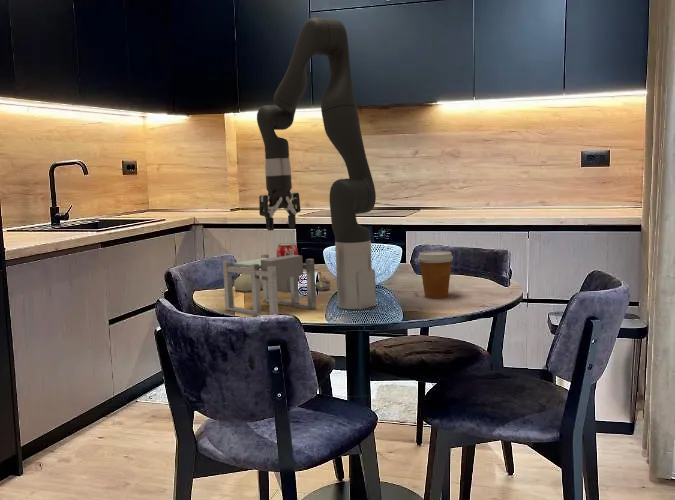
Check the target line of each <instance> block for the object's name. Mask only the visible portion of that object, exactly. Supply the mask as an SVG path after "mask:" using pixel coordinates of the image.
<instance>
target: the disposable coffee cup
mask: <svg viewBox="0 0 675 500" xmlns="http://www.w3.org/2000/svg"><path fill="white" fill-rule="evenodd" d="M453 258H454V256H453V254H452V252H451V251H449V250H428V251H421V252H419V254H418V257H417V259H418V262H419V266H420V271H421V279H422V280H421V281H422V284H423V292H424V297H425V298H427V299H443V298H448V296H449V288H450V277H451V272H452V271H451V269H452V262H453Z"/></svg>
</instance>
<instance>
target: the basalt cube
mask: <svg viewBox="0 0 675 500" xmlns="http://www.w3.org/2000/svg"><path fill="white" fill-rule="evenodd" d="M298 279H299V280H300V276H298ZM290 291H291V290H290V278H285V279H280V280H277V292H283V293H291V292H290Z"/></svg>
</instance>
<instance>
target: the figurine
mask: <svg viewBox="0 0 675 500" xmlns="http://www.w3.org/2000/svg"><path fill="white" fill-rule="evenodd" d="M318 274H319V281H317V282H315V289H317V290H318V291H321V292H323V291H329V290H330V287H331V284H330V283H331V280H330V279H329V277H327V276H325V275H323V274H322V272H321V271H319V272H318Z"/></svg>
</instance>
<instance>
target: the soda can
mask: <svg viewBox="0 0 675 500" xmlns="http://www.w3.org/2000/svg"><path fill="white" fill-rule="evenodd" d="M298 250H299V249H298V247H297V243H296V242H282V243H277V247H276V257H281V256H287V255H299V251H298Z"/></svg>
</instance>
